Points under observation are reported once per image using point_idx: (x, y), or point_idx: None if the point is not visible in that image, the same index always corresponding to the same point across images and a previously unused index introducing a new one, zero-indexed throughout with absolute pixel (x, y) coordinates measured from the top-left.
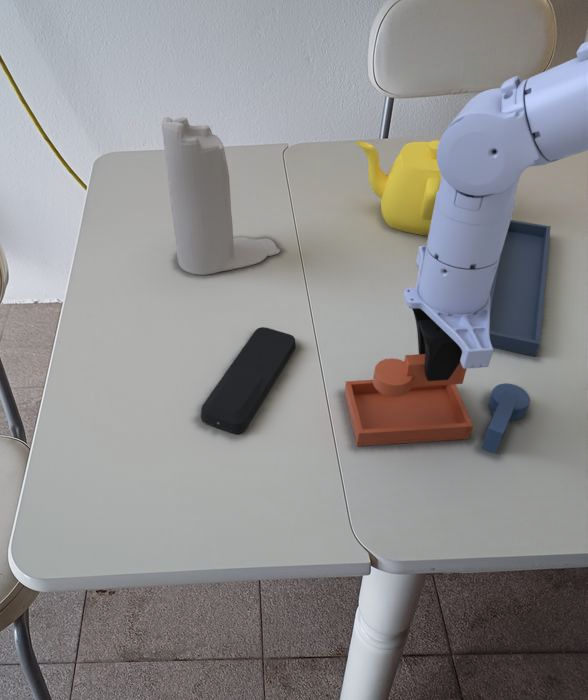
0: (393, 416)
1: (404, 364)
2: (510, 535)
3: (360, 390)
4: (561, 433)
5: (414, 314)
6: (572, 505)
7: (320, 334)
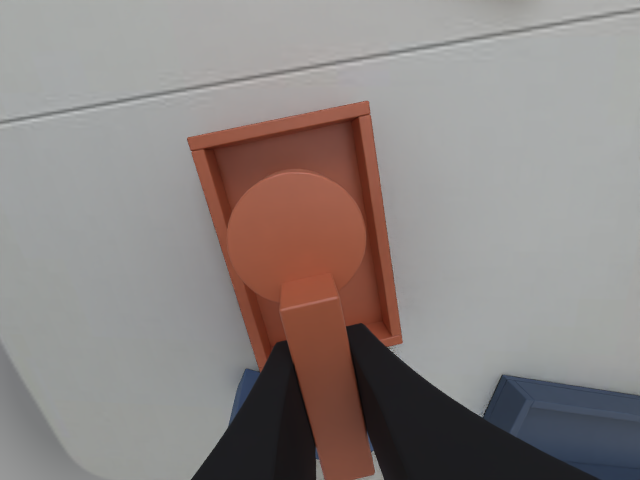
0: None
1: (320, 282)
2: (69, 399)
3: (357, 145)
4: None
5: (526, 467)
6: (158, 474)
7: (565, 39)
